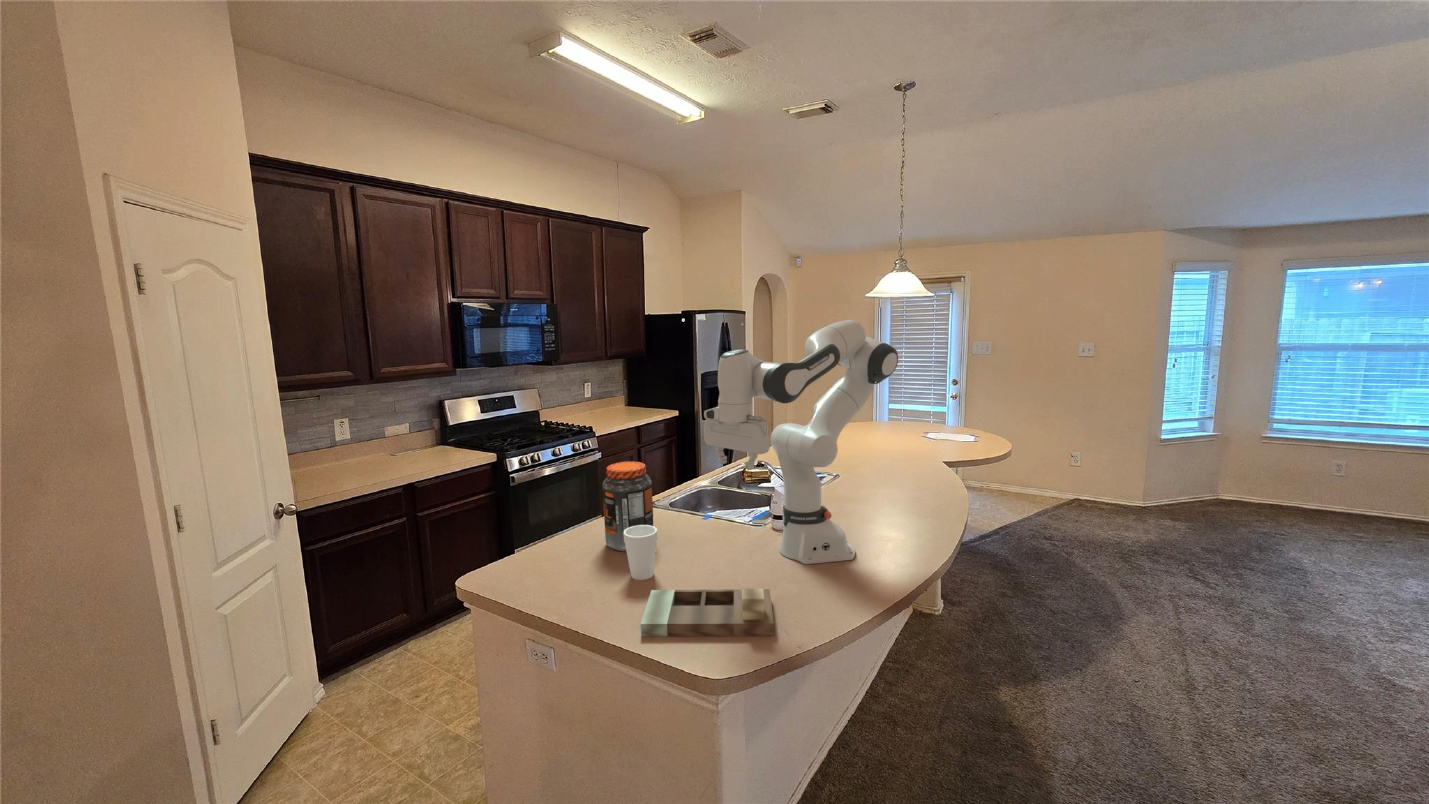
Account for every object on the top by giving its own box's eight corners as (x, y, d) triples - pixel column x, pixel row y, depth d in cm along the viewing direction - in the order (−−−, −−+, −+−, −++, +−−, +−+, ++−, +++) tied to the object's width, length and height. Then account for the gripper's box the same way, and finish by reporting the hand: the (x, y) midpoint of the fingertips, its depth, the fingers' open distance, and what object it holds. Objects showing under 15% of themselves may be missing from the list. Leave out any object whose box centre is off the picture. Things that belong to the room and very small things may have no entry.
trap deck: (769, 600, 138) (769, 589, 138) (774, 635, 122) (773, 623, 122) (651, 601, 139) (651, 590, 139) (641, 636, 123) (640, 624, 123)
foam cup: (665, 571, 156) (663, 528, 154) (645, 585, 148) (643, 539, 146) (639, 565, 161) (637, 522, 159) (618, 578, 153) (616, 533, 151)
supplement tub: (608, 535, 185) (604, 461, 181) (655, 533, 186) (651, 458, 182) (602, 554, 169) (597, 473, 166) (653, 551, 170) (649, 471, 167)
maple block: (763, 608, 128) (763, 588, 128) (764, 619, 123) (764, 598, 123) (742, 608, 128) (741, 588, 128) (742, 619, 124) (741, 599, 123)
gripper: (775, 415, 135) (775, 470, 137) (716, 408, 149) (716, 458, 151) (758, 419, 130) (758, 475, 132) (699, 411, 145) (700, 462, 147)
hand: (735, 466), depth 142 cm, fingers open, 8 cm apart
